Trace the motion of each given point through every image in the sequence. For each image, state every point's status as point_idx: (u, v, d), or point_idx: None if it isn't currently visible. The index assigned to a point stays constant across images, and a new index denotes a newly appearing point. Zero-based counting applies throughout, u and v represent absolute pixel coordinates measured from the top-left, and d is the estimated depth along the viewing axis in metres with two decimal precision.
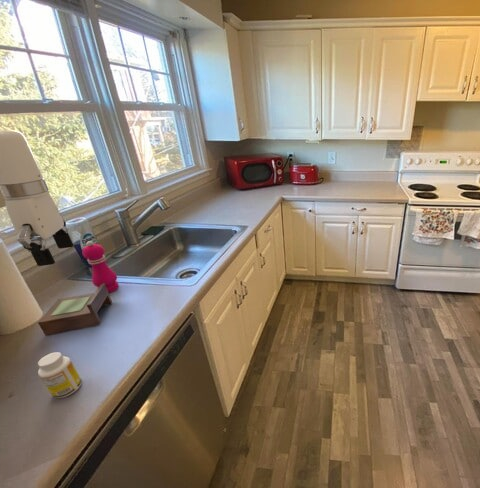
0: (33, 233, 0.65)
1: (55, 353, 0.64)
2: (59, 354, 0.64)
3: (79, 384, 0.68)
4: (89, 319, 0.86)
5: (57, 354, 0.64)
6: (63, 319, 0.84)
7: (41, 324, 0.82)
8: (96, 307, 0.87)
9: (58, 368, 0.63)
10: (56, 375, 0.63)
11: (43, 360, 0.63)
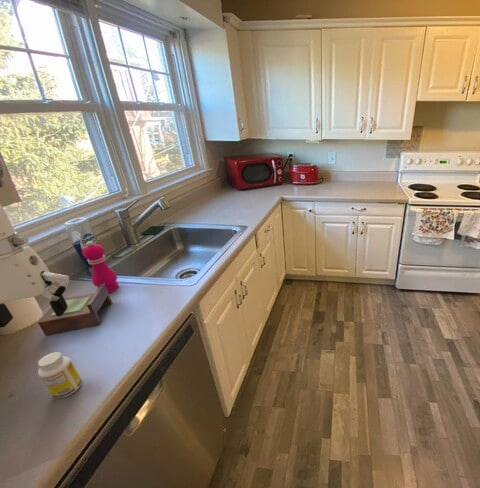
0: None
1: (55, 353, 0.64)
2: (59, 354, 0.64)
3: (79, 384, 0.68)
4: (89, 319, 0.86)
5: (57, 354, 0.64)
6: (63, 319, 0.84)
7: (41, 324, 0.82)
8: (96, 307, 0.87)
9: (58, 368, 0.63)
10: (56, 375, 0.63)
11: (43, 360, 0.63)
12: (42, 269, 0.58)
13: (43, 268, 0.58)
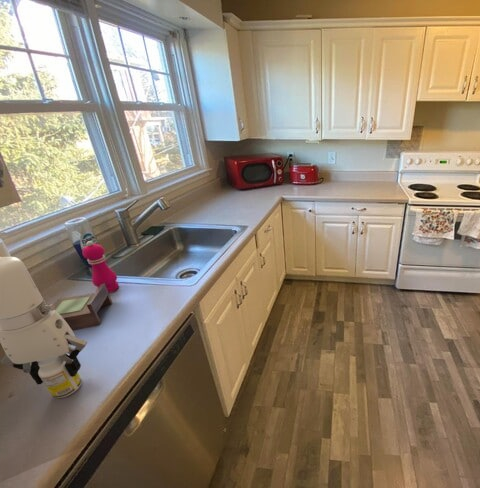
0: None
1: None
2: None
3: (79, 384, 0.68)
4: (89, 319, 0.86)
5: None
6: None
7: None
8: (96, 307, 0.87)
9: (58, 368, 0.63)
10: (56, 375, 0.63)
11: (43, 360, 0.63)
12: (66, 330, 0.62)
13: (67, 329, 0.63)
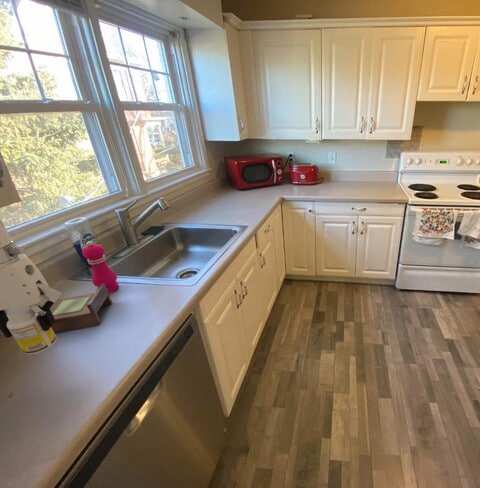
0: None
1: None
2: None
3: (53, 341, 0.62)
4: (89, 319, 0.86)
5: None
6: (63, 319, 0.84)
7: None
8: (96, 307, 0.87)
9: (29, 320, 0.58)
10: (26, 327, 0.57)
11: (13, 311, 0.57)
12: (38, 278, 0.57)
13: (39, 277, 0.57)
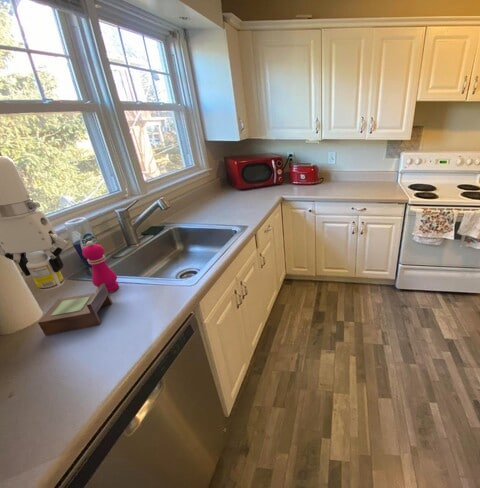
0: None
1: (41, 251, 0.76)
2: None
3: (62, 282, 0.79)
4: (89, 319, 0.86)
5: (43, 251, 0.75)
6: (63, 319, 0.84)
7: (41, 324, 0.82)
8: (96, 307, 0.87)
9: (43, 262, 0.74)
10: (41, 267, 0.74)
11: (31, 254, 0.74)
12: (50, 229, 0.73)
13: (51, 228, 0.74)
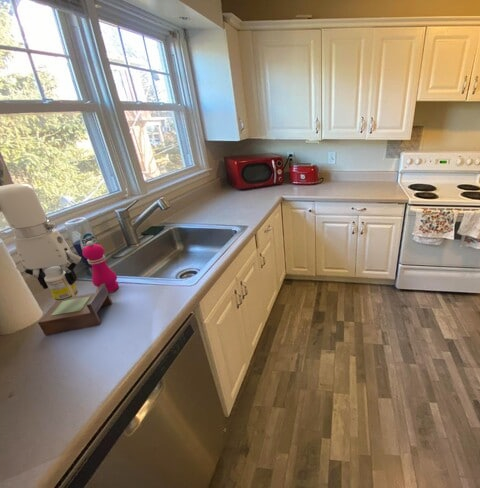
0: None
1: (57, 266, 0.84)
2: None
3: (76, 293, 0.87)
4: (89, 319, 0.86)
5: (58, 266, 0.84)
6: (63, 319, 0.84)
7: (41, 324, 0.82)
8: (96, 307, 0.87)
9: (59, 276, 0.82)
10: (57, 281, 0.82)
11: (48, 269, 0.82)
12: (65, 246, 0.82)
13: (66, 246, 0.82)
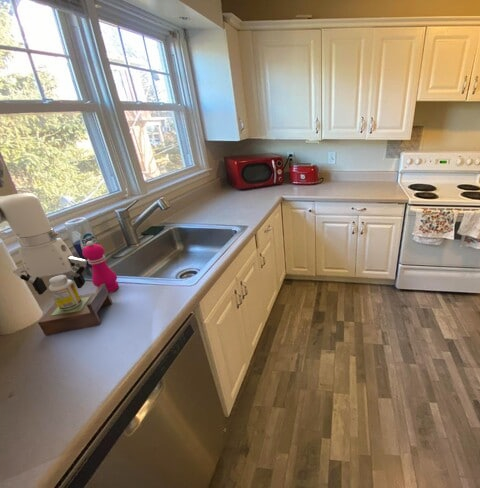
0: None
1: (61, 275, 0.85)
2: (64, 276, 0.85)
3: (79, 302, 0.88)
4: (89, 319, 0.86)
5: (63, 276, 0.85)
6: (63, 319, 0.84)
7: (41, 324, 0.82)
8: (96, 307, 0.87)
9: (64, 285, 0.84)
10: (62, 290, 0.83)
11: (53, 279, 0.84)
12: (69, 254, 0.83)
13: (69, 254, 0.83)
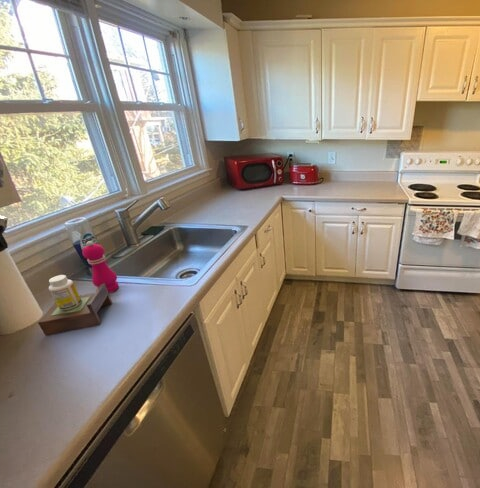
0: None
1: (61, 275, 0.85)
2: (64, 276, 0.85)
3: (79, 302, 0.88)
4: (89, 319, 0.86)
5: (63, 276, 0.85)
6: (63, 319, 0.84)
7: (41, 324, 0.82)
8: (96, 307, 0.87)
9: (64, 285, 0.84)
10: (62, 290, 0.83)
11: (52, 279, 0.84)
12: None
13: None
